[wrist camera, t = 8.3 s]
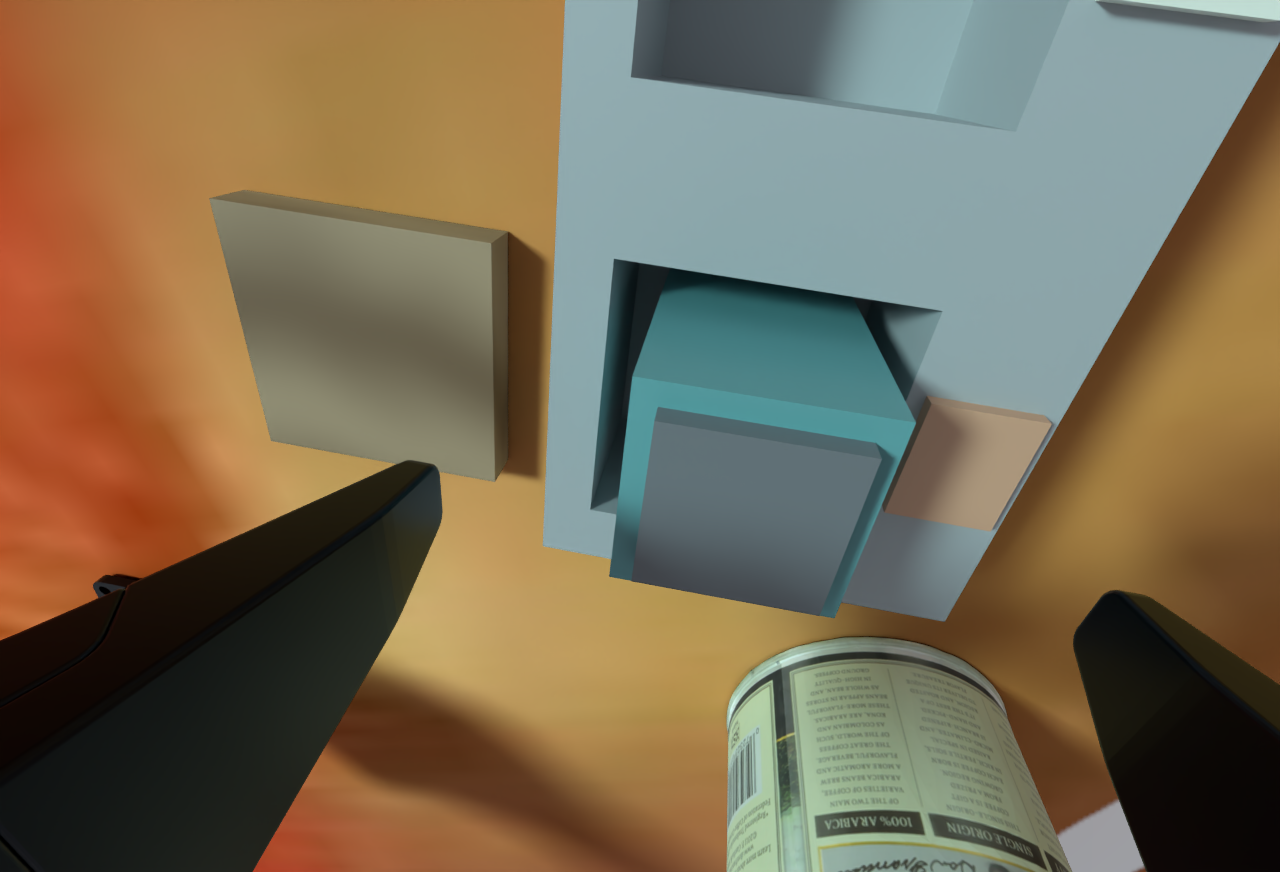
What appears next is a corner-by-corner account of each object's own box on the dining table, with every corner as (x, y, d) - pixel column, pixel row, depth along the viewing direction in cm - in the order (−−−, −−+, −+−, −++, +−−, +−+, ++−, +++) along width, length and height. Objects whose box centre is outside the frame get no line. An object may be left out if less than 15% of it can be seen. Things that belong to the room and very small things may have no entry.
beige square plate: (507, 459, 19) (495, 481, 18) (296, 421, 19) (270, 440, 18) (508, 231, 15) (491, 243, 14) (244, 190, 15) (209, 198, 14)
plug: (799, 420, 15) (838, 637, 10) (655, 396, 16) (604, 594, 10) (842, 277, 13) (924, 438, 8) (675, 251, 14) (627, 389, 8)
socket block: (894, 486, 17) (948, 632, 13) (589, 432, 18) (539, 555, 13) (1269, -381, 9) (1831, -859, 4) (663, -437, 9) (593, -912, 5)
